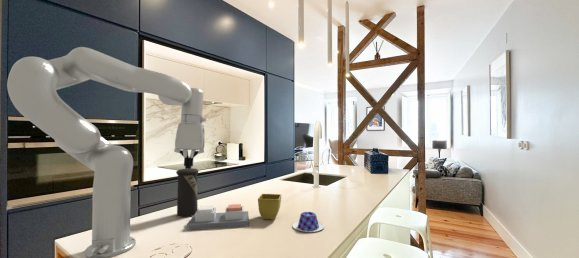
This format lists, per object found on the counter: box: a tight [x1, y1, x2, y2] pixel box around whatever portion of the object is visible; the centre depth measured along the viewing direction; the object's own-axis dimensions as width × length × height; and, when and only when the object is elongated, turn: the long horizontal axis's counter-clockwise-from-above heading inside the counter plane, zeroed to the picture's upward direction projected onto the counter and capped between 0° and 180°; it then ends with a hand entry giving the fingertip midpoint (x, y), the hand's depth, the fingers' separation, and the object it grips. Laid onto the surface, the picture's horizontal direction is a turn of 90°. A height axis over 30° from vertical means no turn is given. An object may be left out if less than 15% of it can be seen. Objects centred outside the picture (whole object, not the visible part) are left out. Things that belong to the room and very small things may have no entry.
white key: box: [198, 205, 214, 213], centre depth 98 cm, size 5×5×3 cm
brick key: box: [227, 203, 242, 212], centre depth 100 cm, size 5×5×3 cm
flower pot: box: [257, 193, 282, 220], centre depth 105 cm, size 9×9×9 cm
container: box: [175, 167, 199, 218], centre depth 109 cm, size 9×9×20 cm
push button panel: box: [187, 205, 250, 231], centre depth 99 cm, size 12×22×5 cm, turn 101°
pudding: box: [292, 211, 325, 233], centre depth 95 cm, size 12×12×5 cm
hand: (188, 168), depth 95 cm, fingers closed
